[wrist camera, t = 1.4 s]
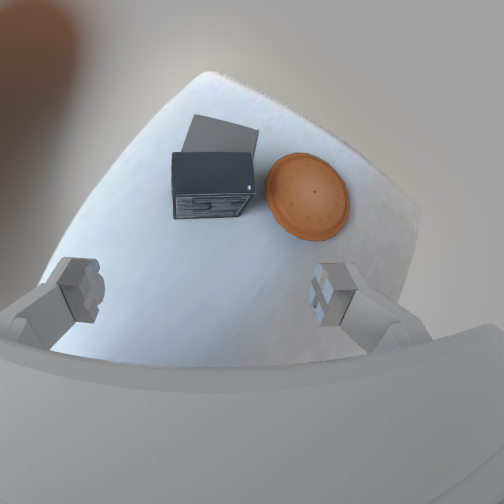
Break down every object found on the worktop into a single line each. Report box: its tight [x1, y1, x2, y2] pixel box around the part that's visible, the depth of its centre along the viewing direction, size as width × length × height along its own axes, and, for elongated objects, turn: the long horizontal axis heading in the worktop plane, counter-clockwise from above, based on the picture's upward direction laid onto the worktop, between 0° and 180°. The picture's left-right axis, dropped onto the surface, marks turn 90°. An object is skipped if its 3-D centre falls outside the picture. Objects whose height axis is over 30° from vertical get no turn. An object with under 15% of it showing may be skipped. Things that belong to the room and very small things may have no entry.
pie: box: [265, 153, 349, 241], centre depth 44 cm, size 15×16×5 cm
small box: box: [171, 152, 256, 219], centre depth 37 cm, size 11×6×10 cm, turn 96°
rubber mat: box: [181, 114, 258, 158], centre depth 44 cm, size 11×12×1 cm
